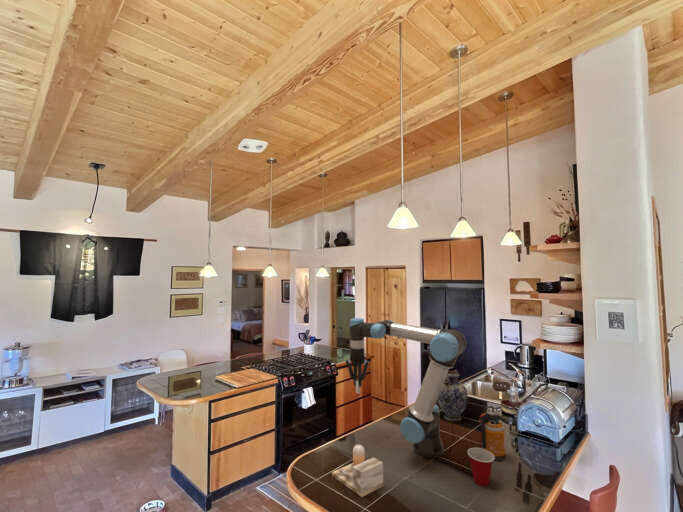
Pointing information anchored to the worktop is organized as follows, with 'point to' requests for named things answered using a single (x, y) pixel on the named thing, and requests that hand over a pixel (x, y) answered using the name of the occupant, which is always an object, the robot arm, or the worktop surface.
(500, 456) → the canister
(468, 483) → the worktop surface
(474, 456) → the plastic cup
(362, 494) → the knob mount
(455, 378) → the decorative vase
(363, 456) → the plunger knob
